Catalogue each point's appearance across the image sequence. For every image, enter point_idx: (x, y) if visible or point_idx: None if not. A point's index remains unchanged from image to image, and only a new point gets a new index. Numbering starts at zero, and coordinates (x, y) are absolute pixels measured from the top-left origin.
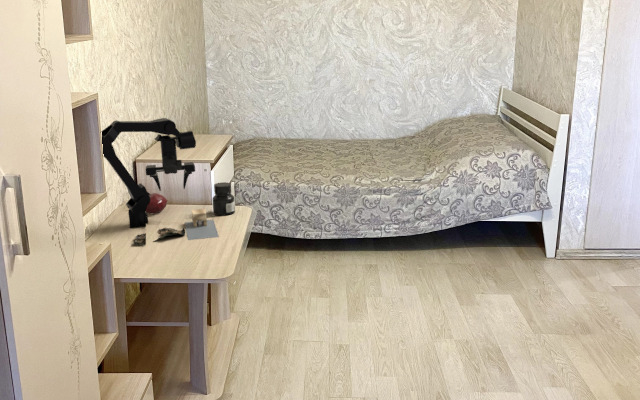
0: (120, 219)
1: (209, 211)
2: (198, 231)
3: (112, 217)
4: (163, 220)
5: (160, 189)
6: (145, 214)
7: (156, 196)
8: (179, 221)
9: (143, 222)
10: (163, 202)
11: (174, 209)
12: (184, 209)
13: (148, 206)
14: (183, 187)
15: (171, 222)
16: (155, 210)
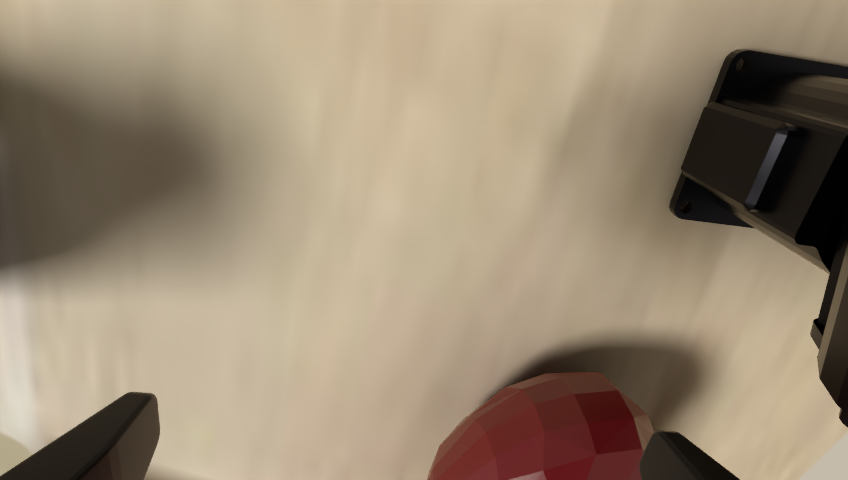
0: (810, 361)
1: (48, 284)
2: None
3: (831, 422)
4: (516, 194)
5: (681, 452)
6: (800, 121)
7: None
8: (374, 89)
9: (769, 94)
10: (472, 458)
11: (364, 437)
12: (284, 412)
13: (632, 412)
14: (148, 449)
15: (459, 92)
16: (553, 377)
